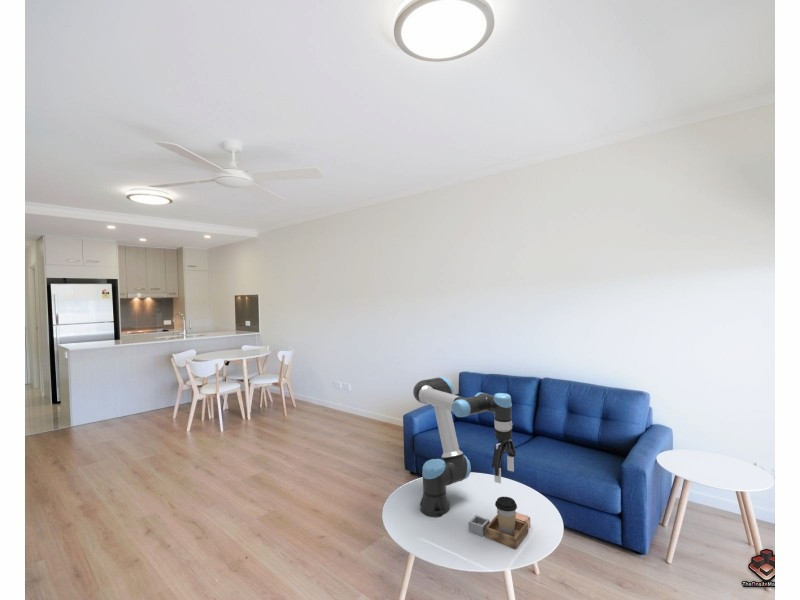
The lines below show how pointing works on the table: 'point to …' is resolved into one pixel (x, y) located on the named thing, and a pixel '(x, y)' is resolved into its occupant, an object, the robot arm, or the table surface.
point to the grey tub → (476, 527)
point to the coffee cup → (506, 514)
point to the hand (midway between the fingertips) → (504, 476)
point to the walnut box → (494, 534)
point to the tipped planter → (523, 518)
